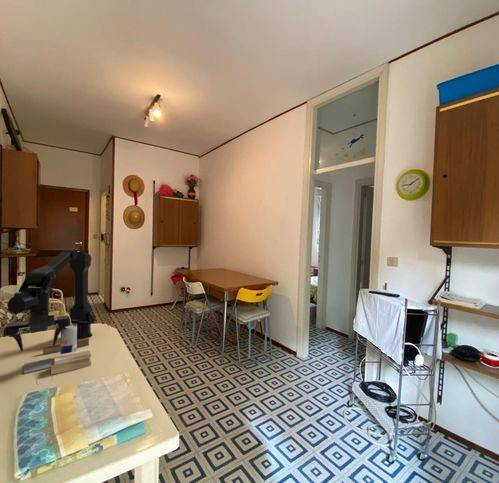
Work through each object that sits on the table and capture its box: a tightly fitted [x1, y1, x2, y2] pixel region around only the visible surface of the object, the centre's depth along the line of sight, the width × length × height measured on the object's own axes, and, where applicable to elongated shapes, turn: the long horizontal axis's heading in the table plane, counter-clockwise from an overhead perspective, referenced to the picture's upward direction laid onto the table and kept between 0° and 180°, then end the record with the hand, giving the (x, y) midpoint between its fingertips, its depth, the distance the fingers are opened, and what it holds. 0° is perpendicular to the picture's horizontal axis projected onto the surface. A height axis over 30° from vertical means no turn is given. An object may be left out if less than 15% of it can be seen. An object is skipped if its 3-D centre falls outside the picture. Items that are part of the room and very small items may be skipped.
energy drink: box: [59, 324, 78, 355], centre depth 107 cm, size 5×5×12 cm
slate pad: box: [23, 357, 53, 375], centre depth 98 cm, size 8×8×1 cm
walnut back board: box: [42, 337, 90, 355], centre depth 113 cm, size 1×16×3 cm, turn 129°
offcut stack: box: [50, 348, 92, 376], centre depth 99 cm, size 5×12×4 cm, turn 129°
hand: (38, 347), depth 98 cm, fingers open, 9 cm apart
